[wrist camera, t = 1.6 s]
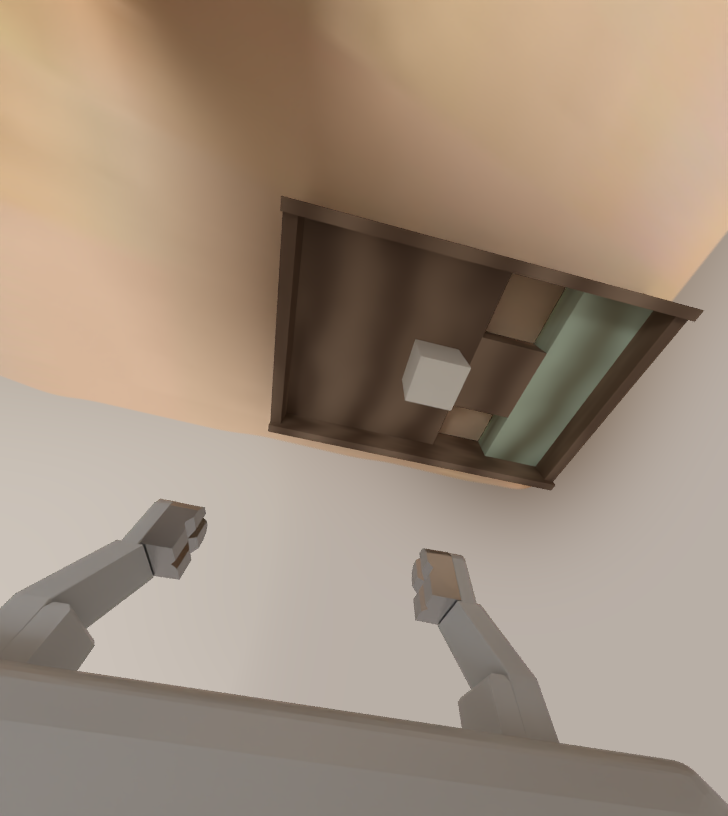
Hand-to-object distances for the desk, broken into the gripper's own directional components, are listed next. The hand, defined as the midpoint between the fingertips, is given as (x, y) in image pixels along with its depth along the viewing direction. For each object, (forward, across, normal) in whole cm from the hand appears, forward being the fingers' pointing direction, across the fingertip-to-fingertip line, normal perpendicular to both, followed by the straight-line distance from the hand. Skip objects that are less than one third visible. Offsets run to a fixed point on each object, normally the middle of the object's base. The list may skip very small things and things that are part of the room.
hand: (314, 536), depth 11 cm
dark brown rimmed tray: (+20, -8, -1) cm, 22 cm away
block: (+18, -7, -1) cm, 19 cm away
